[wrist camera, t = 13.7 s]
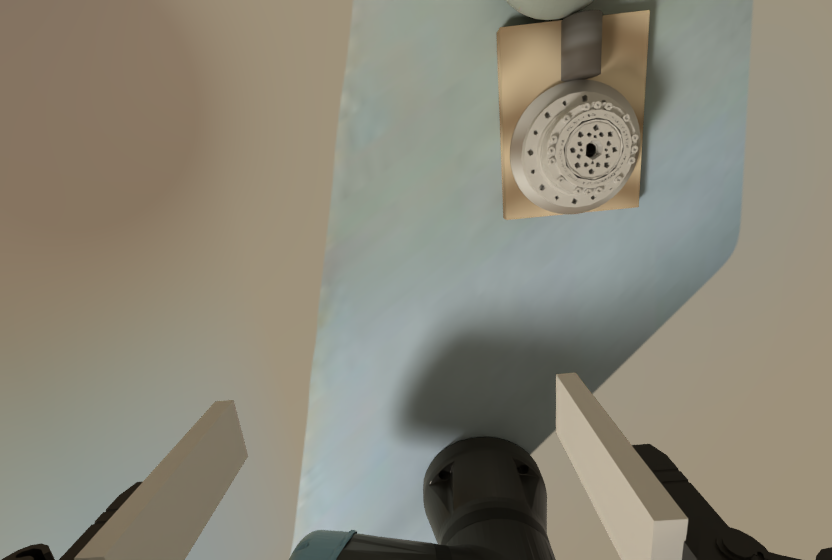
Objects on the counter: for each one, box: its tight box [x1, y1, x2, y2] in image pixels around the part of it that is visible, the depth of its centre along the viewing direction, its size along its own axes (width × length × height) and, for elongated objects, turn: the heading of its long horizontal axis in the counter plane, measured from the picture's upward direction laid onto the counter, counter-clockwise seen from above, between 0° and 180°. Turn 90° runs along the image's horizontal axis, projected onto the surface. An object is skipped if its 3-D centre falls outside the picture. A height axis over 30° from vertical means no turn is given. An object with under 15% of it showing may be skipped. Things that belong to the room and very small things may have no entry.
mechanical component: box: [521, 92, 638, 207], centre depth 34 cm, size 10×4×10 cm
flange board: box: [497, 10, 650, 220], centre depth 35 cm, size 17×13×5 cm
